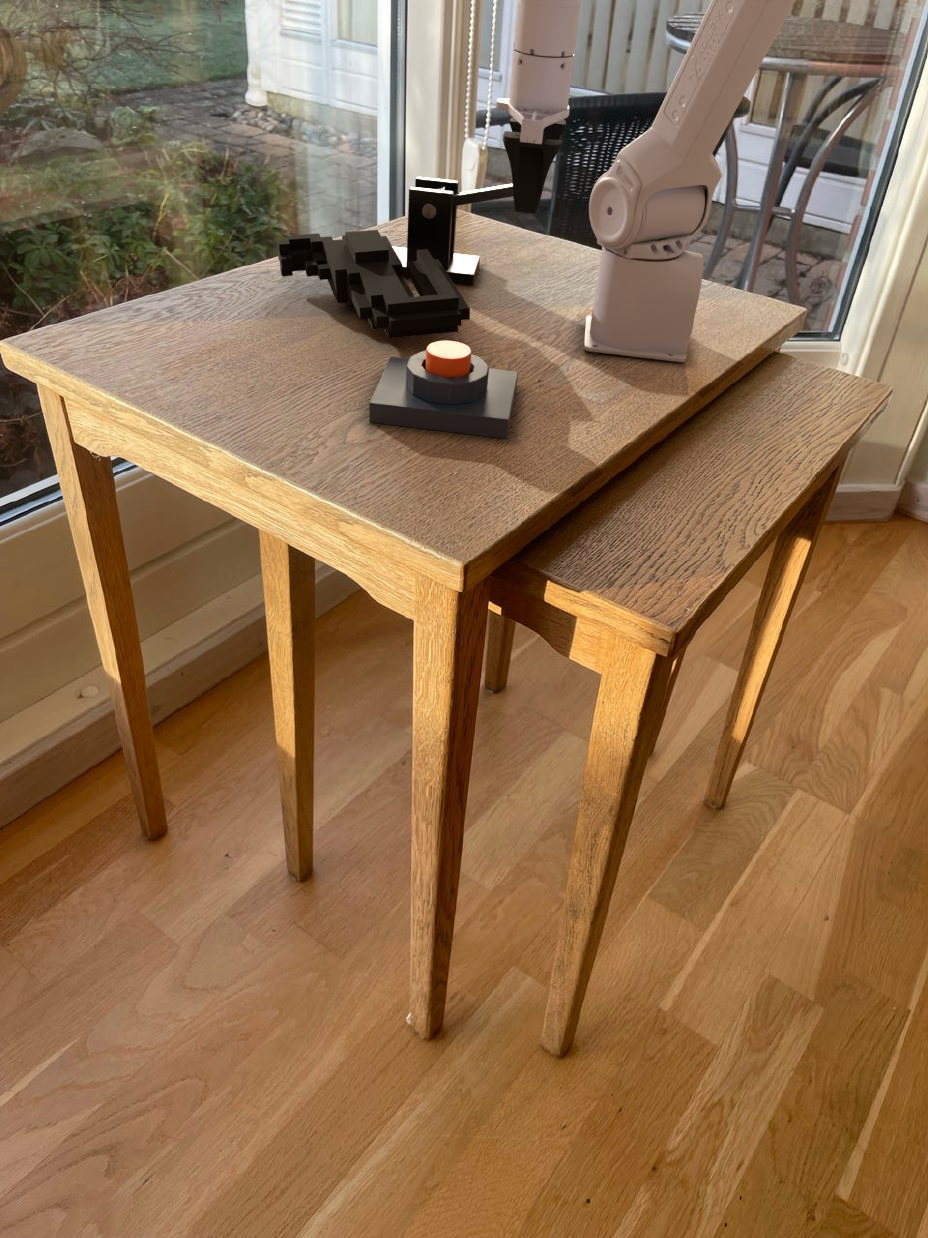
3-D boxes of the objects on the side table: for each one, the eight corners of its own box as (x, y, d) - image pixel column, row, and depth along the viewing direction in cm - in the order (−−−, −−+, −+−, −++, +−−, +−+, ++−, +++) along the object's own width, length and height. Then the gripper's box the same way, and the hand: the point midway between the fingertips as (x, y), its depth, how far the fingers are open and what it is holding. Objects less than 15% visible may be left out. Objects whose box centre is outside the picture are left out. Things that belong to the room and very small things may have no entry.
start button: (472, 363, 81) (474, 342, 80) (467, 382, 78) (468, 361, 77) (429, 358, 81) (430, 337, 80) (422, 376, 78) (423, 355, 77)
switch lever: (537, 191, 102) (534, 167, 101) (534, 205, 98) (530, 180, 97) (426, 210, 104) (421, 186, 103) (418, 224, 101) (413, 199, 99)
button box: (516, 389, 85) (520, 351, 82) (506, 439, 78) (511, 398, 75) (389, 374, 85) (390, 335, 83) (369, 422, 78) (369, 381, 76)
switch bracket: (479, 266, 108) (486, 182, 102) (472, 285, 103) (479, 198, 98) (389, 256, 108) (391, 171, 103) (378, 275, 104) (380, 187, 98)
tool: (302, 305, 83) (473, 289, 86) (273, 221, 98) (420, 211, 101) (308, 363, 87) (472, 346, 90) (279, 274, 102) (420, 262, 105)
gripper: (508, 35, 98) (495, 180, 106) (493, 60, 87) (480, 220, 95) (578, 42, 97) (560, 187, 106) (573, 68, 86) (553, 228, 95)
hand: (527, 203), depth 100 cm, fingers closed on switch lever, 5 cm apart
